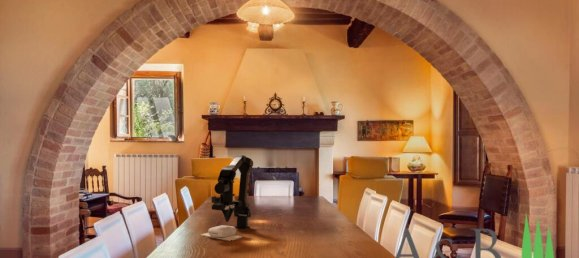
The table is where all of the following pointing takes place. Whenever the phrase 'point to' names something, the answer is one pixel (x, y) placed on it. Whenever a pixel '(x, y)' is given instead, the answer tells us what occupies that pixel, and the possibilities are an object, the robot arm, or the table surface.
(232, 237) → the beige flat sheet
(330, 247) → the table surface
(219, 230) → the photo printer
